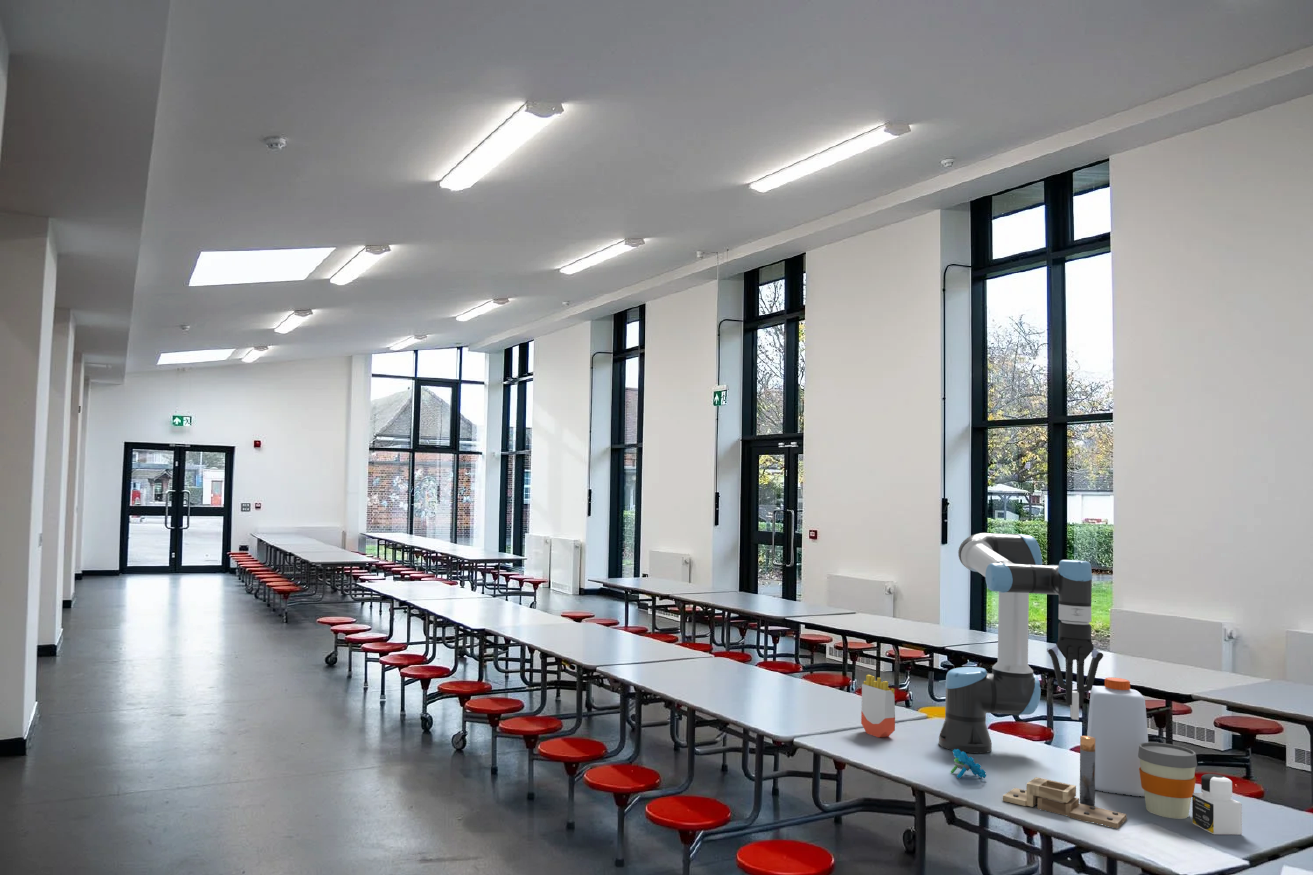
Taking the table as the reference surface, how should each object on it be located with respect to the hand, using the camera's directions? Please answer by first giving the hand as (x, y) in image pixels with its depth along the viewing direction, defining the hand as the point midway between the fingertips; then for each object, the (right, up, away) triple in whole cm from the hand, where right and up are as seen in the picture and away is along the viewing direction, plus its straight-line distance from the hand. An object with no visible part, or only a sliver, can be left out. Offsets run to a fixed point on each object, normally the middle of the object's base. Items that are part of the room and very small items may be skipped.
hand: (1074, 718), depth 223 cm
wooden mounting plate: (-3, -20, -10) cm, 22 cm away
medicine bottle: (+25, -21, -16) cm, 36 cm away
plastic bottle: (+18, -23, +13) cm, 32 cm away
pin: (+3, -21, -1) cm, 21 cm away
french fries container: (-34, -24, +59) cm, 72 cm away
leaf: (-10, -20, -4) cm, 23 cm away
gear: (-21, -21, +17) cm, 34 cm away
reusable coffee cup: (+20, -21, -5) cm, 30 cm away
